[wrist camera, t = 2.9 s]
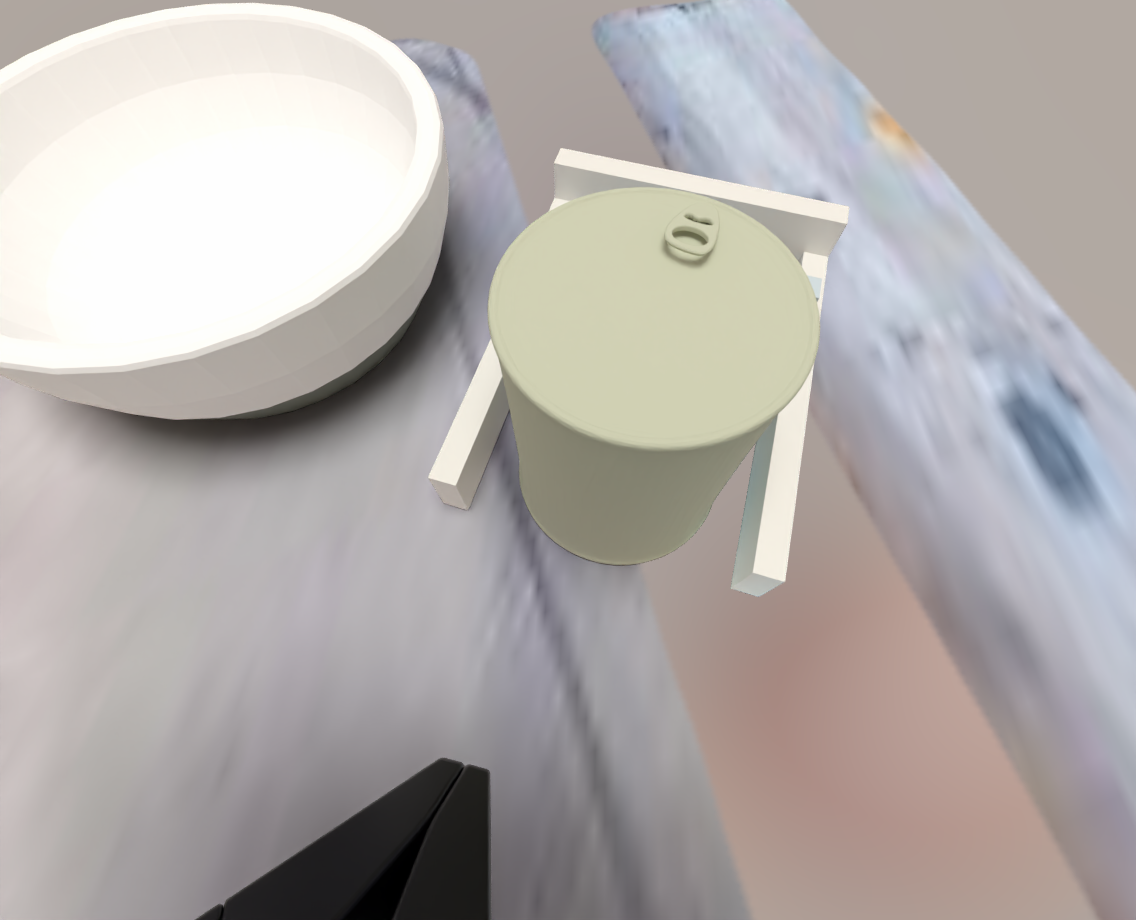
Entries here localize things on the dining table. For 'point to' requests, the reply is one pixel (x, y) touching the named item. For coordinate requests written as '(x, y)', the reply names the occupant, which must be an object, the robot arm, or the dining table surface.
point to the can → (644, 362)
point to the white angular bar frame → (780, 446)
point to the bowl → (214, 210)
